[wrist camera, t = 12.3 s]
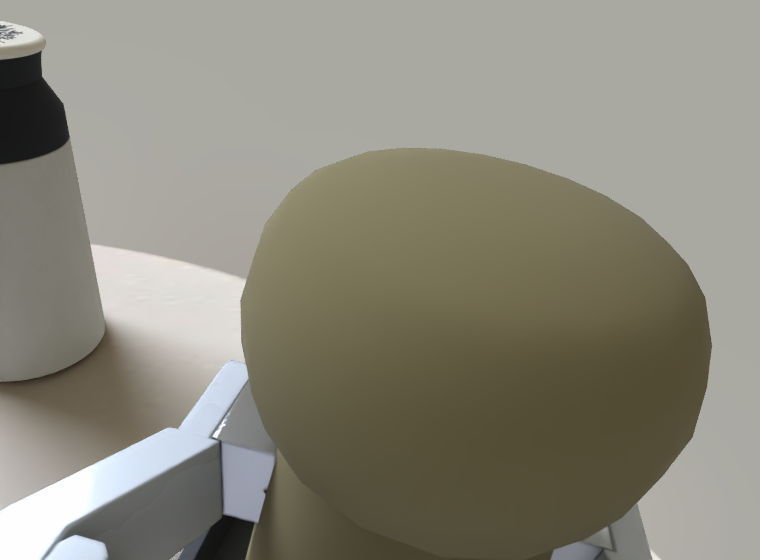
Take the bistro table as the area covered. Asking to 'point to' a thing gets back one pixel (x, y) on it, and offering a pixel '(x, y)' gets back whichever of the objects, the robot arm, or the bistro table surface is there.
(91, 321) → the travel mug
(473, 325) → the olive pawn
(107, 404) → the bistro table surface
